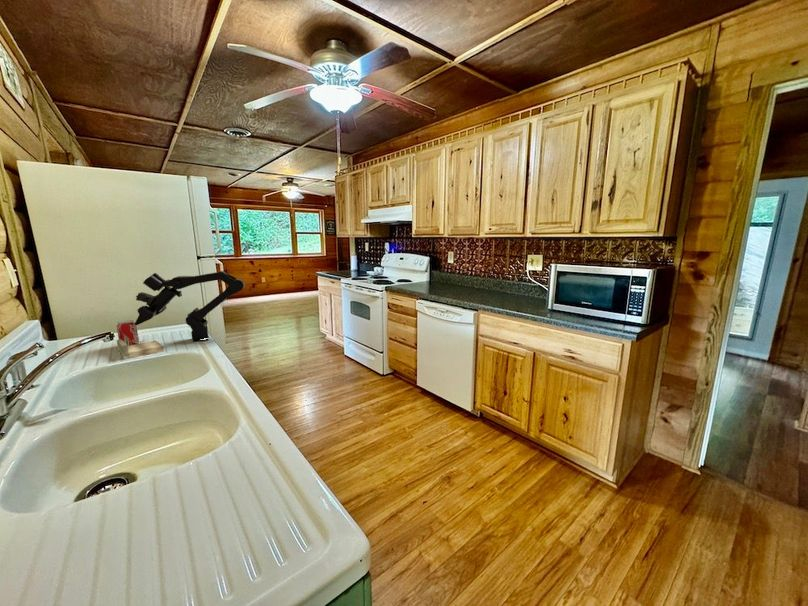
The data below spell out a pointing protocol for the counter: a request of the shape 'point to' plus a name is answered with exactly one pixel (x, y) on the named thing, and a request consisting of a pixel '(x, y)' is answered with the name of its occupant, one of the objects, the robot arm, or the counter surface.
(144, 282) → the robot arm
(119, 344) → the cleat stand
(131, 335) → the soda can
